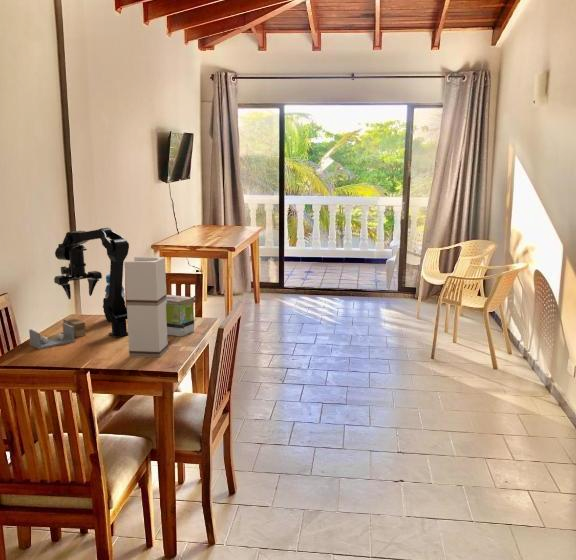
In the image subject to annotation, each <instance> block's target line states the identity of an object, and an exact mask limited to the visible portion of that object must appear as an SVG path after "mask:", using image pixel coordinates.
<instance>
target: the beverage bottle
mask: <svg viewBox="0 0 576 560" xmlns="http://www.w3.org/2000/svg"><path fill="white" fill-rule="evenodd" d="M105 280H106V284H107V285H106V287H105V288H104V289H105V290H104V293H105V295H104V298H107V297H108V295H109V284H110V273H109V274H106V277H105ZM125 295H126V293H125V288H124V285H122V297H123V298H124V299H125V298H126V297H125ZM117 316H121V315H117ZM117 316H115V317H117Z"/></svg>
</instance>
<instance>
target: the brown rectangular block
mask: <svg viewBox="0 0 576 560" xmlns="http://www.w3.org/2000/svg"><path fill="white" fill-rule="evenodd" d="M62 323H66V324H68V325H71V326H73V327H74V338H75V337H76V338H78V337H83V336H86V335H87V334H86V322H84V321H83V320H80V319H77V318H75V317H68V318H64V319H63V322H62Z"/></svg>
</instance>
